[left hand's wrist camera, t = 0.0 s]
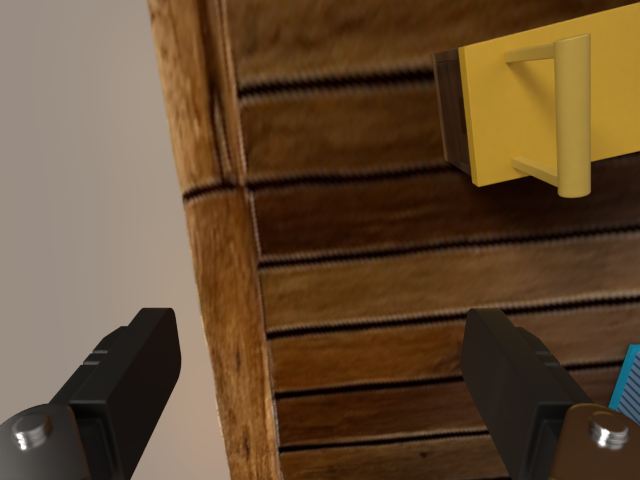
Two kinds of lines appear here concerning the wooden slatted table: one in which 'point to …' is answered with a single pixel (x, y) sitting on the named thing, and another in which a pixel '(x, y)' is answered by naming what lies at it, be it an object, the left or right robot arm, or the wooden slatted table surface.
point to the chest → (455, 105)
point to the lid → (554, 100)
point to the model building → (628, 386)
